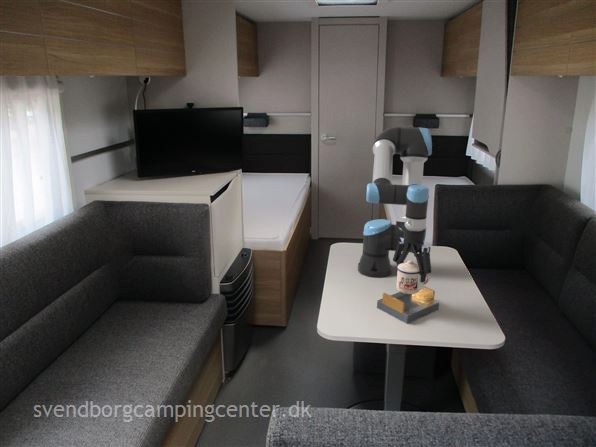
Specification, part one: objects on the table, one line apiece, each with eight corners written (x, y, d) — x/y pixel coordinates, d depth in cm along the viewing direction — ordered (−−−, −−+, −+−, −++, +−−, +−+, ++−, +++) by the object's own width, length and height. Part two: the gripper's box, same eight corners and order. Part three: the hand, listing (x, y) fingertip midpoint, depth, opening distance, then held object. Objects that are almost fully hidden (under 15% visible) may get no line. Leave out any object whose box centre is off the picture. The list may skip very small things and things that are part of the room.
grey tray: (376, 307, 193) (378, 291, 191) (408, 295, 204) (409, 279, 202) (406, 323, 182) (408, 306, 180) (438, 309, 193) (440, 293, 190)
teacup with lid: (395, 293, 186) (397, 264, 183) (395, 283, 195) (397, 255, 191) (428, 296, 184) (431, 266, 180) (427, 286, 192) (430, 257, 189)
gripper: (385, 222, 189) (381, 277, 196) (432, 238, 172) (426, 297, 179) (399, 219, 193) (395, 273, 200) (446, 234, 177) (439, 292, 184)
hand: (409, 284), depth 190 cm, fingers closed on teacup with lid, 9 cm apart
